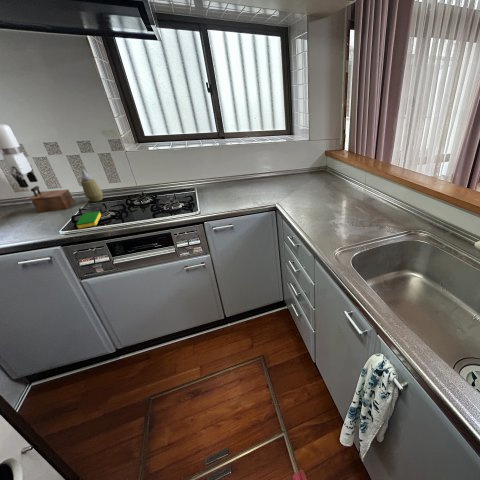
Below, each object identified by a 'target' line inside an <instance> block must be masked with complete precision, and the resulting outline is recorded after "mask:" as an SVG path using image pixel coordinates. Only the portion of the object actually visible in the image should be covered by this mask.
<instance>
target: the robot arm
mask: <svg viewBox="0 0 480 480" xmlns="http://www.w3.org/2000/svg"><path fill="white" fill-rule="evenodd" d="M0 154H1V156H2V158H3V161H4V163H5V166H6V167H7V170H8V171H9V174H10V175H11V176H12V178H13V179H14V180H15V181H16V182H17V184H18V186H19V187H20V188H22V189H24V188H29V187H30V186H29V184H28V182H27V180H28V181H29V182H30V183H38V182H39V180H38V179H37V177H36V174H35V172H34V169H33V167H32V164H30V162H29V161H28V159H27V157H26V156H25V155H24V151H23V149H22V148H21V146H20V144H19V142H18V140H17V138H16V136H15V134H14V133H13V130H12V129H11V127H10V126H9V125H8V124H6V123H5V124H4V123H0ZM25 175H26V177H27V180H26V179H25V178H24V176H25Z"/></svg>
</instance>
